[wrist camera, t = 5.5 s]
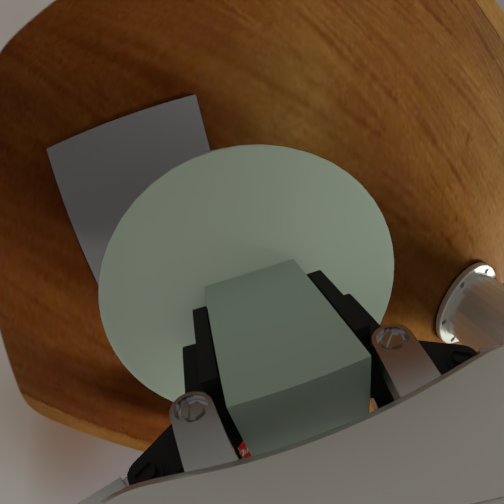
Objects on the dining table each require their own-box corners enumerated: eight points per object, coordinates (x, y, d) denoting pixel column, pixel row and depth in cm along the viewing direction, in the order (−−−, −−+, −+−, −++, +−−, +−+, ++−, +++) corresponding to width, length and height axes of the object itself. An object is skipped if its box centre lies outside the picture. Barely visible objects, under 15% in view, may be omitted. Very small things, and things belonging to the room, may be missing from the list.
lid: (369, 117, 12) (504, 129, 6) (384, 353, 17) (449, 433, 11) (54, 205, 10) (-47, 287, 4) (170, 424, 16) (179, 530, 10)
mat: (195, 95, 21) (195, 94, 21) (234, 240, 26) (235, 242, 26) (48, 148, 20) (46, 148, 19) (99, 283, 25) (98, 285, 24)
